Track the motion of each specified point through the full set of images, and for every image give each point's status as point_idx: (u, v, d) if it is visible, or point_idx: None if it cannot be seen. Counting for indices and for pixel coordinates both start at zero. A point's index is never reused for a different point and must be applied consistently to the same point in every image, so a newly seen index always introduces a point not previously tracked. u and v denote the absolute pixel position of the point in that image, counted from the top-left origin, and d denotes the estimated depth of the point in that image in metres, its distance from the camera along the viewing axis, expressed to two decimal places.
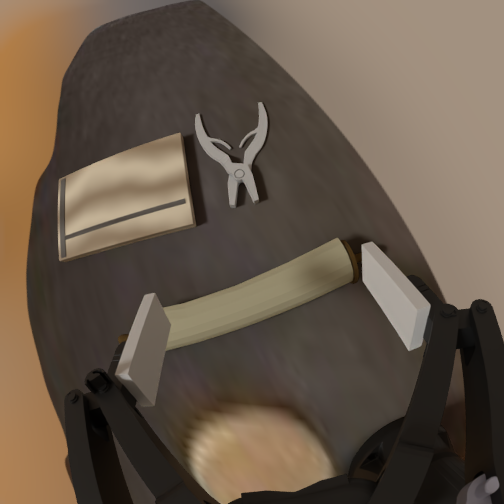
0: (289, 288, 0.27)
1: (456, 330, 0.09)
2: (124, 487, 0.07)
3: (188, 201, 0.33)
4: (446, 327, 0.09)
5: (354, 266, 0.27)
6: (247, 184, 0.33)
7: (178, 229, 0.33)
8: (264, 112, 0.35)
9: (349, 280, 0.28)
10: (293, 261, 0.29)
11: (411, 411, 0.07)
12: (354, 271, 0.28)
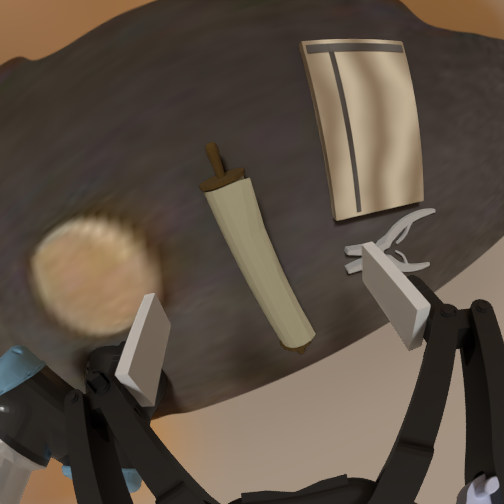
0: (280, 313, 0.34)
1: (456, 330, 0.09)
2: (124, 487, 0.07)
3: (358, 214, 0.32)
4: (446, 327, 0.09)
5: (294, 349, 0.37)
6: None
7: (332, 202, 0.32)
8: (420, 268, 0.38)
9: (282, 343, 0.38)
10: (300, 310, 0.35)
11: (411, 411, 0.07)
12: (290, 348, 0.37)
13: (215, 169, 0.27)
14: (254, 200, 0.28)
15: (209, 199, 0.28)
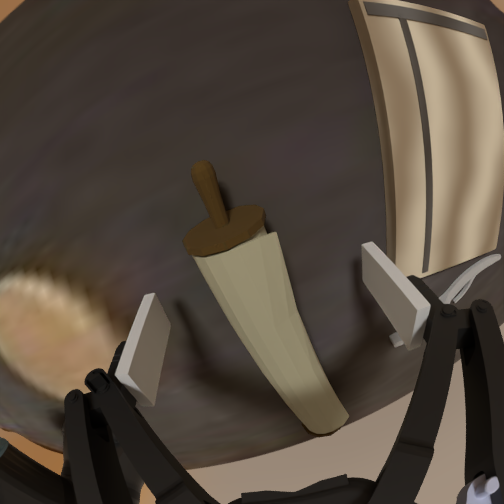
0: (309, 409, 0.21)
1: (456, 330, 0.09)
2: (124, 487, 0.07)
3: (422, 275, 0.20)
4: (446, 327, 0.09)
5: (321, 435, 0.24)
6: None
7: (390, 259, 0.19)
8: None
9: (306, 427, 0.25)
10: (335, 399, 0.22)
11: (411, 411, 0.07)
12: (316, 434, 0.25)
13: (210, 212, 0.15)
14: (283, 271, 0.15)
15: (201, 268, 0.15)
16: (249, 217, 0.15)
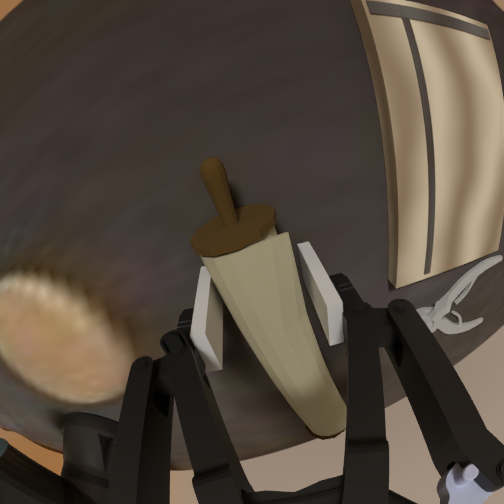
0: (314, 411, 0.21)
1: (373, 325, 0.11)
2: (166, 466, 0.08)
3: (424, 277, 0.19)
4: (362, 324, 0.11)
5: (324, 437, 0.24)
6: None
7: (392, 261, 0.19)
8: (472, 326, 0.25)
9: (310, 429, 0.25)
10: (340, 401, 0.22)
11: (350, 413, 0.07)
12: (319, 436, 0.24)
13: (220, 211, 0.15)
14: (294, 272, 0.15)
15: (209, 269, 0.15)
16: (260, 217, 0.15)
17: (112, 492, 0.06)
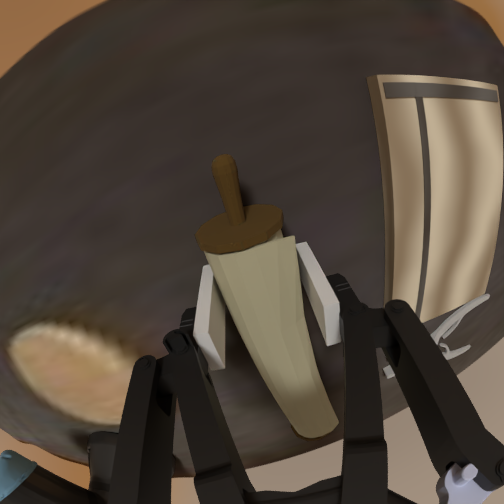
0: (302, 413, 0.21)
1: (370, 325, 0.11)
2: (168, 465, 0.08)
3: None
4: (359, 325, 0.11)
5: (309, 439, 0.24)
6: None
7: None
8: (459, 353, 0.28)
9: (296, 430, 0.25)
10: (328, 405, 0.22)
11: (347, 413, 0.07)
12: (304, 438, 0.25)
13: (228, 208, 0.15)
14: (296, 275, 0.15)
15: (212, 265, 0.15)
16: (267, 217, 0.15)
17: (113, 491, 0.06)
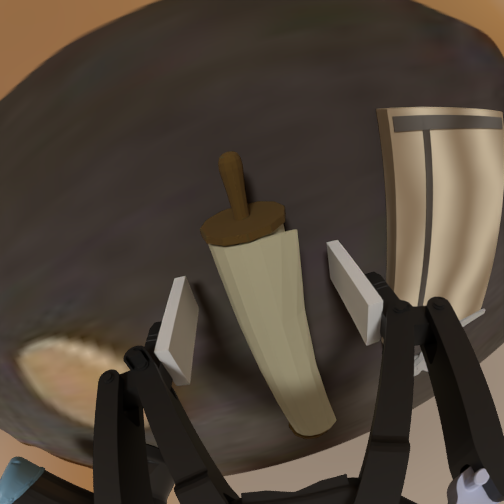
0: (301, 409, 0.22)
1: (412, 324, 0.10)
2: (146, 474, 0.08)
3: None
4: (401, 323, 0.10)
5: (307, 437, 0.25)
6: None
7: None
8: None
9: (293, 428, 0.26)
10: (326, 401, 0.23)
11: (378, 410, 0.07)
12: (302, 436, 0.25)
13: (233, 203, 0.15)
14: (298, 268, 0.16)
15: (217, 258, 0.15)
16: (270, 213, 0.15)
17: (98, 503, 0.05)
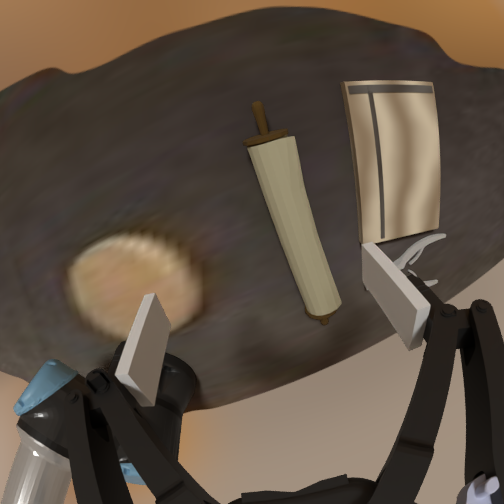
0: (311, 277, 0.34)
1: (456, 330, 0.09)
2: (124, 487, 0.07)
3: (381, 240, 0.35)
4: (446, 327, 0.09)
5: (320, 317, 0.37)
6: None
7: (360, 229, 0.35)
8: (428, 285, 0.41)
9: (309, 310, 0.38)
10: (330, 275, 0.35)
11: (411, 411, 0.07)
12: (316, 316, 0.37)
13: (260, 126, 0.27)
14: (297, 158, 0.28)
15: (253, 154, 0.28)
16: (280, 131, 0.27)
17: None
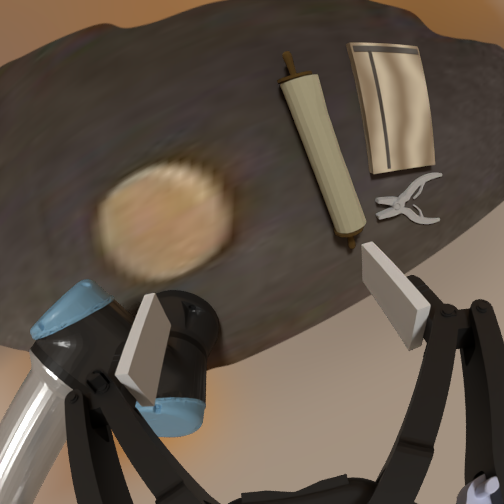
0: (340, 191, 0.37)
1: (456, 330, 0.09)
2: (124, 487, 0.07)
3: (388, 170, 0.39)
4: (446, 327, 0.09)
5: (349, 234, 0.41)
6: (389, 212, 0.43)
7: (370, 160, 0.39)
8: (432, 222, 0.45)
9: (338, 230, 0.42)
10: (355, 192, 0.38)
11: (411, 411, 0.07)
12: (346, 234, 0.41)
13: (290, 69, 0.31)
14: (321, 90, 0.31)
15: (287, 87, 0.32)
16: None
17: None
